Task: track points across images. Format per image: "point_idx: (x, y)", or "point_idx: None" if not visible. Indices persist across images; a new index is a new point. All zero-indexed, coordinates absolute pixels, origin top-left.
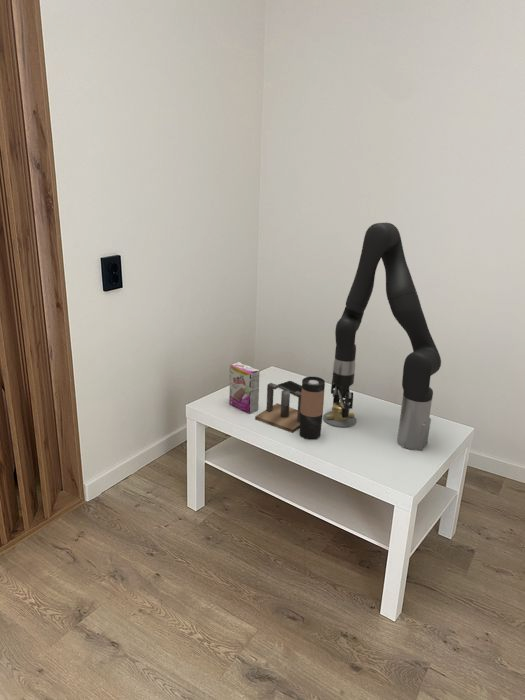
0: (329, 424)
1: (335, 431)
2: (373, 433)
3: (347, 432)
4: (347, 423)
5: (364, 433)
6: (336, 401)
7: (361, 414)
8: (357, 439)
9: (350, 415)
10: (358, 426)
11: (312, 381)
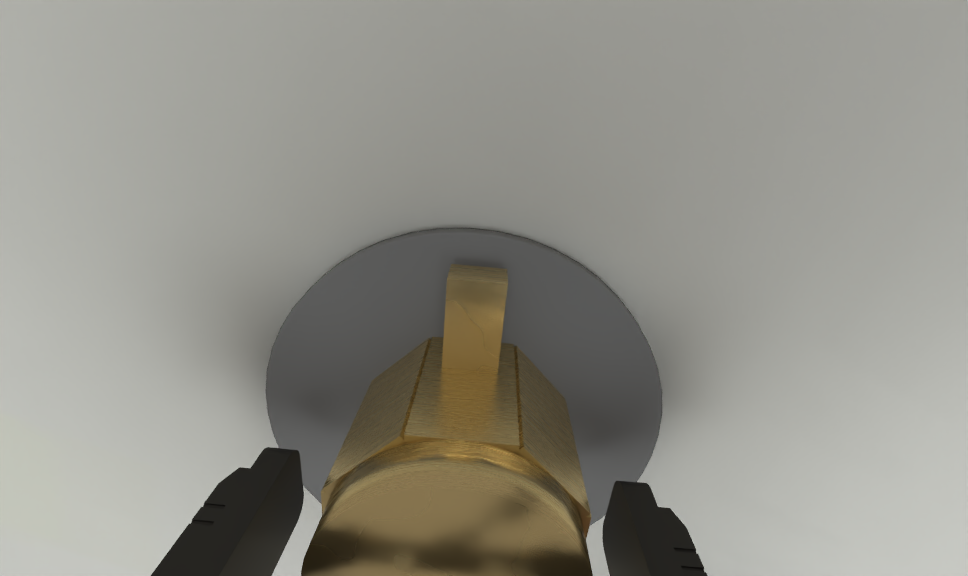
0: None
1: None
2: (954, 205)
3: (749, 458)
4: (613, 405)
5: (877, 312)
6: (253, 563)
7: (391, 65)
8: (928, 439)
9: (501, 336)
10: (694, 293)
11: None
